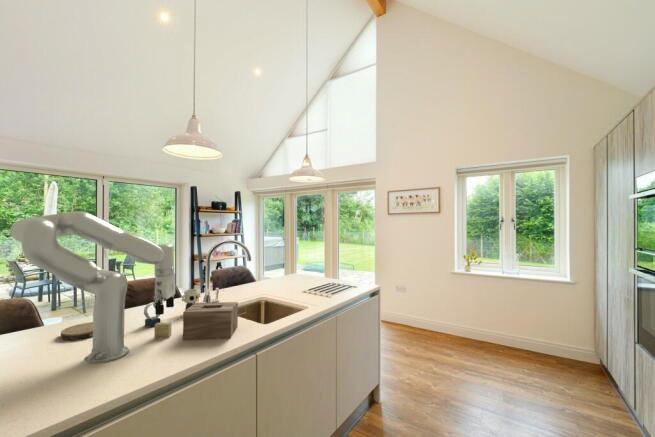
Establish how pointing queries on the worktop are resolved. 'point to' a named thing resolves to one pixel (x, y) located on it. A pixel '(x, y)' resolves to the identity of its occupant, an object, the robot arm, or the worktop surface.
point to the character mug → (190, 297)
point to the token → (163, 330)
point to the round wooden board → (78, 332)
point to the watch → (153, 320)
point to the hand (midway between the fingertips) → (165, 310)
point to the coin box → (210, 320)
